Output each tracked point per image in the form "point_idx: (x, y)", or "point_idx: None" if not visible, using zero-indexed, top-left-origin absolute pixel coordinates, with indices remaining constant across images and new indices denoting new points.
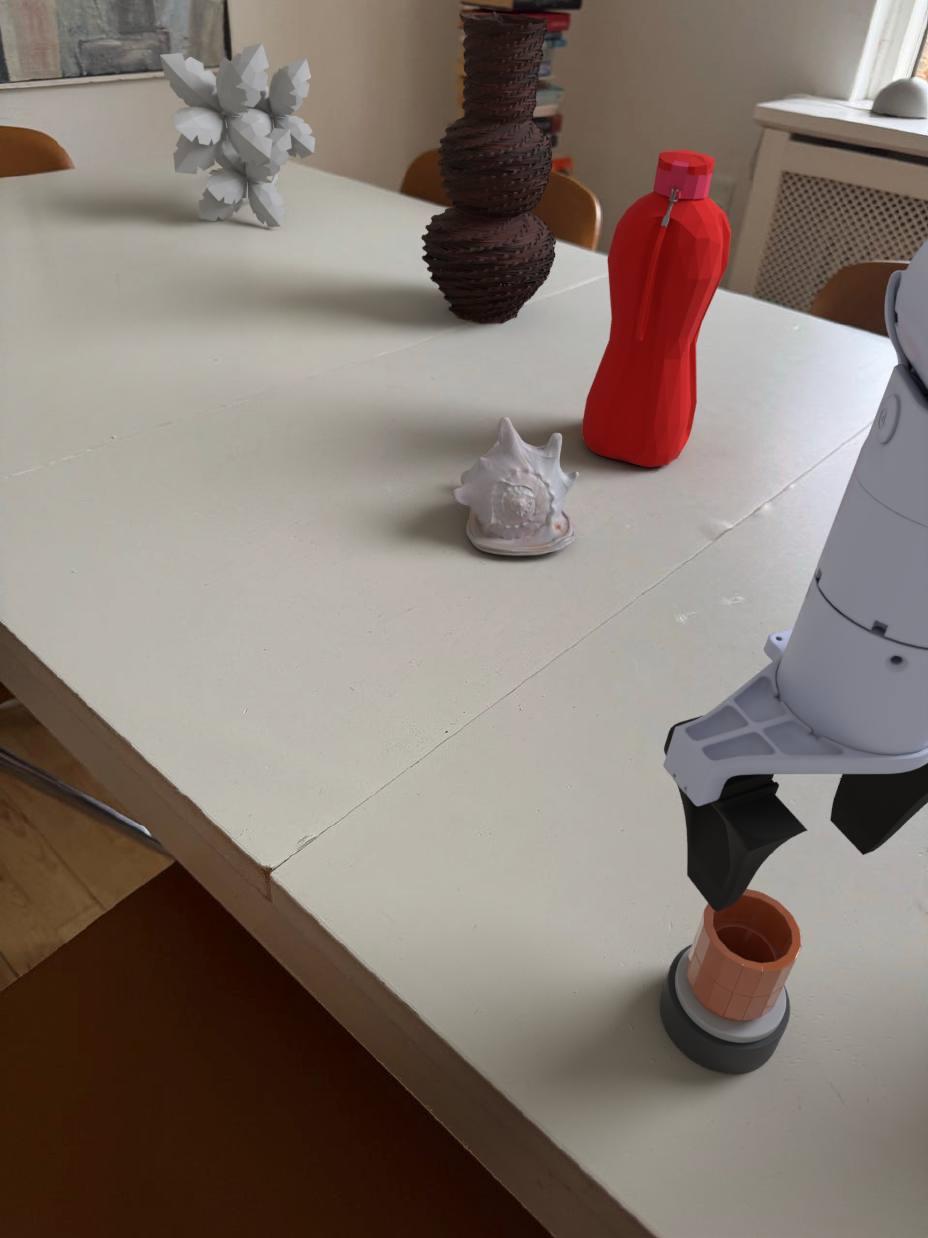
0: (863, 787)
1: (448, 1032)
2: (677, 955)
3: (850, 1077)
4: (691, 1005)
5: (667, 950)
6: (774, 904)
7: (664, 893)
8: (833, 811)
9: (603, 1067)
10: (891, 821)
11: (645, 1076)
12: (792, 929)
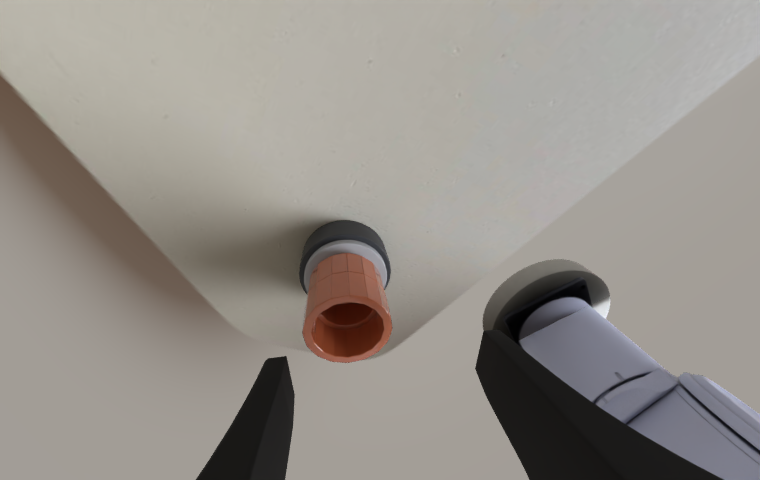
0: (526, 412)
1: (124, 206)
2: (324, 239)
3: (398, 308)
4: (307, 284)
5: (338, 202)
6: (384, 317)
7: (367, 152)
8: (490, 341)
9: (246, 263)
10: (510, 435)
11: (273, 276)
12: (381, 340)
